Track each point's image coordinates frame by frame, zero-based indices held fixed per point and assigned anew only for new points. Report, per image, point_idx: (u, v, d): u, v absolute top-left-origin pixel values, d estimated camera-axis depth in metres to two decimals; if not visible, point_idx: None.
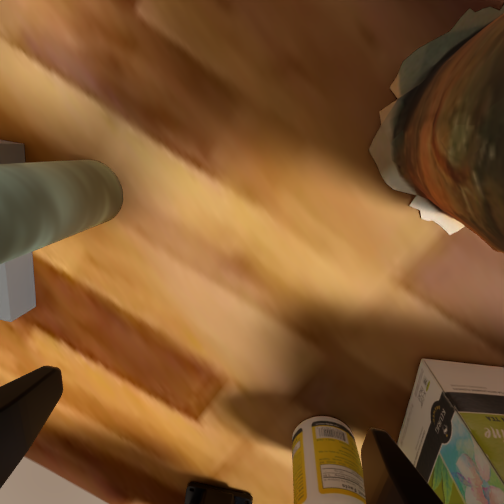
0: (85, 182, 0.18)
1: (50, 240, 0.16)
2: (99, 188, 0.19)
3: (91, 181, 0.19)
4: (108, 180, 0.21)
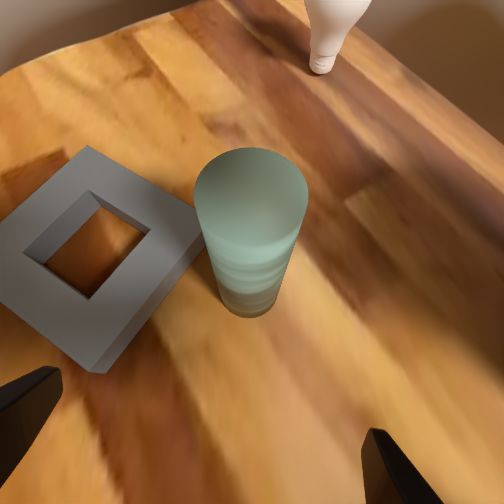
0: None
1: (263, 290, 0.17)
2: None
3: None
4: None
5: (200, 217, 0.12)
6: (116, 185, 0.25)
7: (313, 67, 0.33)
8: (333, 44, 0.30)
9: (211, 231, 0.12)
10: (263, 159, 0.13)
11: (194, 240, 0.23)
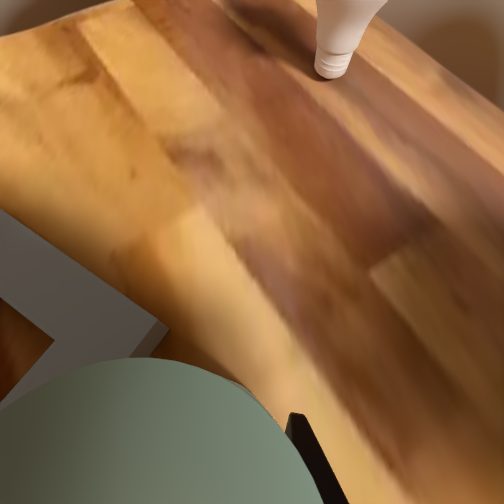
0: None
1: None
2: None
3: None
4: None
5: None
6: (8, 259, 0.15)
7: (320, 69, 0.23)
8: (349, 36, 0.20)
9: None
10: (178, 415, 0.04)
11: None
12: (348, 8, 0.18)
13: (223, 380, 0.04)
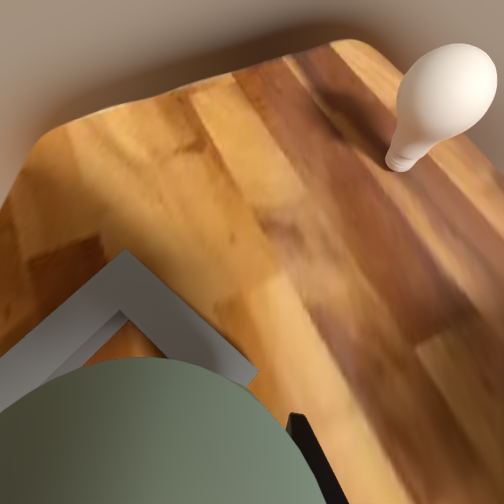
0: None
1: None
2: None
3: None
4: None
5: None
6: (152, 307, 0.21)
7: (390, 164, 0.28)
8: (421, 150, 0.25)
9: None
10: (180, 415, 0.04)
11: None
12: (425, 137, 0.23)
13: (225, 380, 0.04)
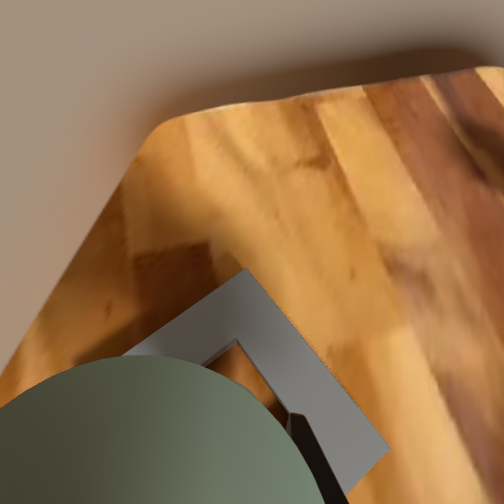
0: None
1: None
2: None
3: None
4: None
5: None
6: (272, 343, 0.19)
7: None
8: None
9: None
10: (178, 412, 0.04)
11: (362, 477, 0.16)
12: None
13: (223, 377, 0.04)
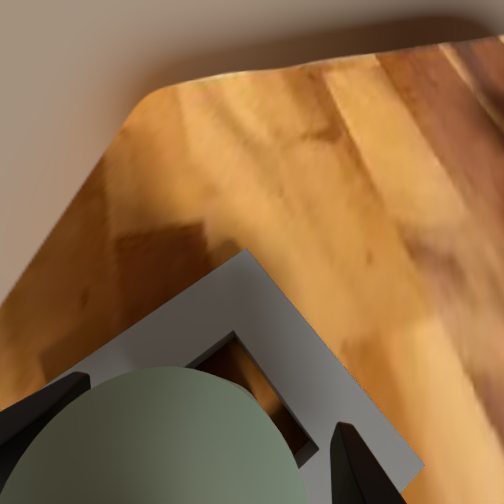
0: None
1: None
2: None
3: None
4: None
5: None
6: (277, 337, 0.16)
7: None
8: None
9: None
10: (194, 408, 0.05)
11: None
12: None
13: (227, 383, 0.05)
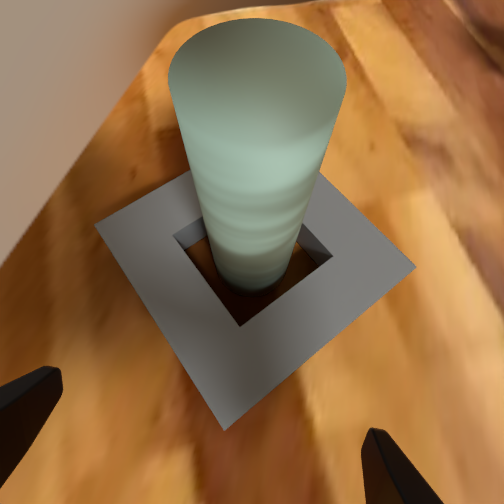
0: None
1: (271, 249, 0.13)
2: None
3: None
4: None
5: (177, 105, 0.07)
6: None
7: None
8: None
9: (194, 124, 0.07)
10: (275, 32, 0.09)
11: None
12: None
13: (293, 25, 0.09)
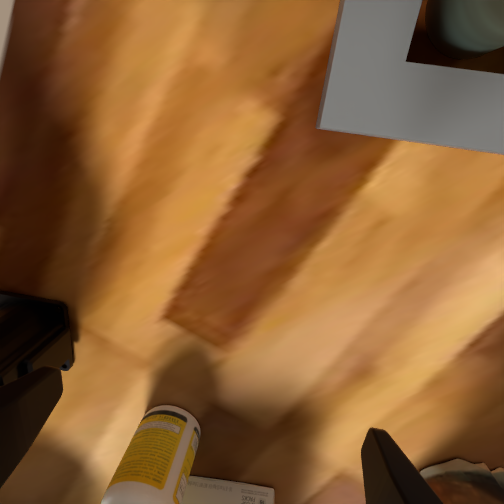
0: None
1: None
2: None
3: None
4: None
5: None
6: None
7: None
8: None
9: None
10: None
11: None
12: None
13: None
